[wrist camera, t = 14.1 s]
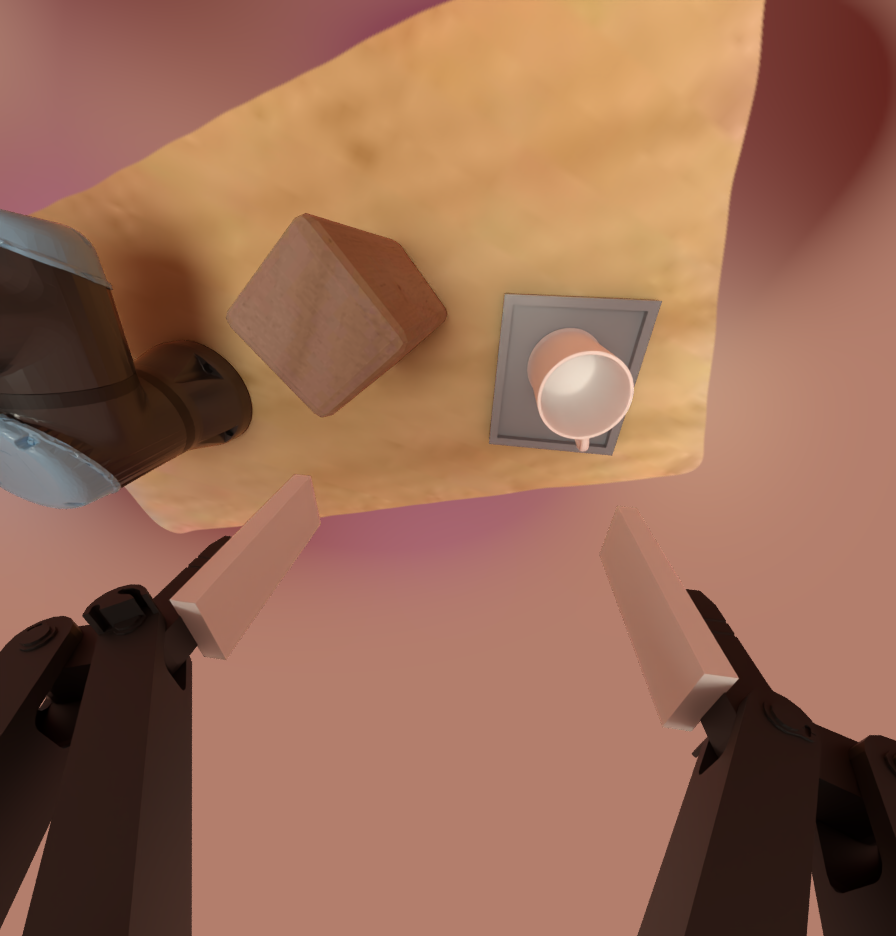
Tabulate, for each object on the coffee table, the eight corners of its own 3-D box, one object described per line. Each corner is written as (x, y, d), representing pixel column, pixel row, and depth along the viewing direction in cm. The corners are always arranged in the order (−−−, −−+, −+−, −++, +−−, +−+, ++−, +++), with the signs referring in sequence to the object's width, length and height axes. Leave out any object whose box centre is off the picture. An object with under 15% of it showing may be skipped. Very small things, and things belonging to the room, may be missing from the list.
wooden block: (451, 314, 39) (410, 345, 22) (392, 366, 43) (319, 426, 26) (395, 236, 36) (296, 201, 19) (337, 299, 40) (213, 318, 23)
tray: (489, 438, 46) (488, 443, 45) (504, 293, 37) (504, 294, 36) (608, 449, 45) (612, 455, 43) (655, 299, 36) (661, 301, 34)
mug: (599, 420, 42) (630, 467, 32) (531, 428, 44) (538, 474, 34) (604, 321, 37) (642, 339, 26) (524, 334, 38) (531, 356, 28)
